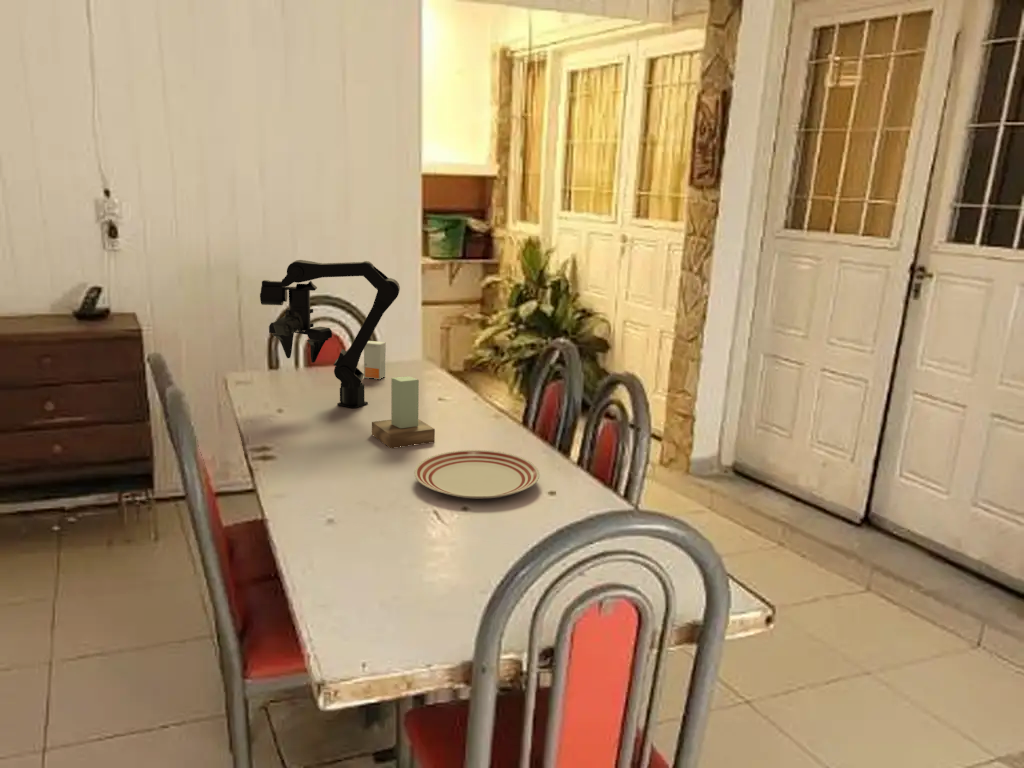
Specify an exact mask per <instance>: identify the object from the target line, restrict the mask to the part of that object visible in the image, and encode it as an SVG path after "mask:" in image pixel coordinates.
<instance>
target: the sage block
mask: <svg viewBox="0 0 1024 768" xmlns="http://www.w3.org/2000/svg"><path fill="white" fill-rule="evenodd" d="M419 382H420V381H419V379H417V378H415V377H412V376H410V375H408V376H399V377H398V376H397V377H391V383H390V384H391V398H390V399H391V417H390V418H391V419H390V420H391V424H392V425H394V426H396V427H398V428H408V427H416V426H418V419H419V398H420V397H419V388H420V387H419Z"/></svg>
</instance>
